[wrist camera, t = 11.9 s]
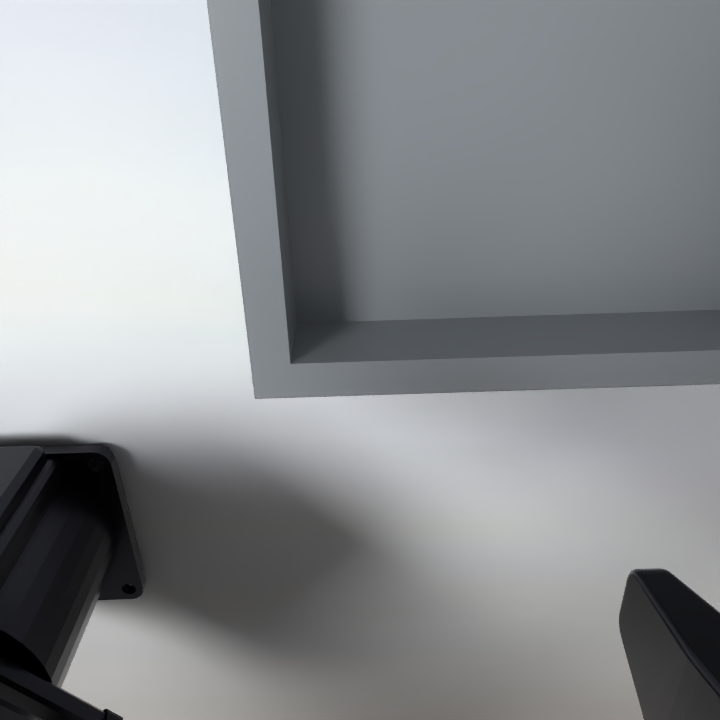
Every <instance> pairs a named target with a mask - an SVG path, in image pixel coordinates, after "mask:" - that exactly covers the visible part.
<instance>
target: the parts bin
mask: <svg viewBox="0 0 720 720" xmlns="http://www.w3.org/2000/svg"><path fill="white" fill-rule="evenodd" d="M207 6H208V14H209V22H210V30H211V39H212V47H213V55H214V64H215V72H216V80H217V88H218V97H219V105H220V113H221V122H222V130H223V138H224V146H225V155H226V163H227V171H228V180H229V188H230V196H231V204H232V213H233V221H234V229H235V238H236V246H237V254H238V263H239V271H240V279H241V287H242V296H243V304H244V312H245V321H246V329H247V337H248V345H249V354H250V362H251V370H252V379H253V387H254V395H255V399H264V398H296V397H327V396H358V395H390V394H421V393H452V392H484V391H515V390H546V389H578V388H609V387H640V386H672V385H703V384H720V0H207Z"/></svg>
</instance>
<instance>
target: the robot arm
mask: <svg viewBox="0 0 720 720" xmlns="http://www.w3.org/2000/svg"><path fill="white" fill-rule="evenodd" d="M93 459H98V460H100V461H102V463H103V464H98V463H96V462H94V461H93ZM129 584H131V585H129ZM145 584H146V579H145V575H144V571H143V567H142V563H141V559H140V555H139V551H138V547H137V543H136V539H135V535H134V531H133V527H132V523H131V519H130V515H129V511H128V507H127V503H126V499H125V495H124V491H123V487H122V483H121V479H120V475H119V471H118V467H117V463H116V459H115V456H114V454H113V452H112V451H111V450H110V449H109V448H107V447H104V446H101V445H77V446H46V447H38V446H2V447H0V720H123V717H121V716H119V715H117V714H115V713H113V712H112V711H110V710H108V709H105V710H103V711H102V710H100V709H98V708H97V707H95V706H93V705H91V704H89V703H87V702H85V701H84V700H82V699H80V698H78V697H76V696H74V695H73V694H71V693H69V692H67V691H65V690H63V689H62V688H61V687H62V684H63V682H64V680H65V677H66V675H67V672H68V670H69V667H70V665H71V663H72V660H73V658H74V655H75V653H76V651H77V648H78V646H79V643H80V641H81V639H82V636H83V634H84V631H85V629H86V627H87V624H88V622H89V619H90V617H91V614H92V612H93V610H94V607H95V605H96V602H97V600H116V599H134V598H138V597H139V596H141V594H142V593H143V590H144V587H145ZM132 585H133V586H132ZM619 628H620V634H621V638H622V641H623V645H624V649H625V652H626V656H627V659H628V663H629V667H630V670H631V674H632V678H633V681H634V685H635V688H636V692H637V696H638V699H639V703H640V707H641V710H642V714H643V717H644V720H720V612H719V611H717V610H716V609H715V608H714V607H712V606H711V605H710V604H709V603H707V602H706V601H705V600H704V599H703V598H701V597H700V596H699V595H698V594H696V593H695V592H694V591H693V590H691V589H690V588H689V587H688V586H687V585H685V584H684V583H683V582H682V581H680V580H679V579H678V578H677V577H675V576H674V575H673V574H672V573H670V572H669V571H667V570H665V569H635V570H633V571H631V572H630V574H629V575H628V578H627V582H626V587H625V591H624V596H623V600H622V605H621V609H620V614H619Z"/></svg>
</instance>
